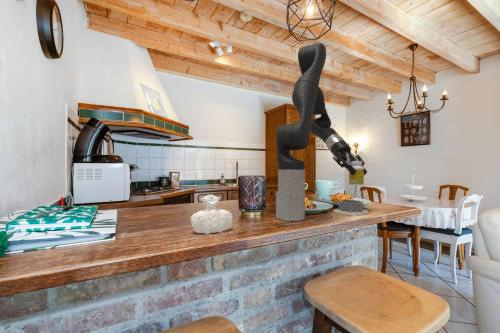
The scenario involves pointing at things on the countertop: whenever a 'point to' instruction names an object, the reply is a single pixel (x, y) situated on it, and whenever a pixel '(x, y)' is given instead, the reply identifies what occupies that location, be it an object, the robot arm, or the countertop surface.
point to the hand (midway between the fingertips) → (360, 173)
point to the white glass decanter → (211, 217)
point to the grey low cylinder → (351, 207)
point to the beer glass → (357, 174)
